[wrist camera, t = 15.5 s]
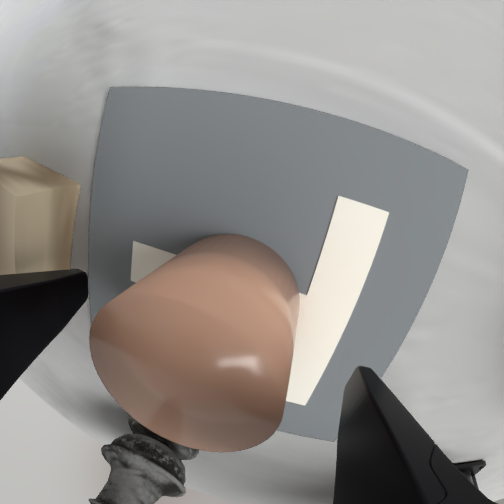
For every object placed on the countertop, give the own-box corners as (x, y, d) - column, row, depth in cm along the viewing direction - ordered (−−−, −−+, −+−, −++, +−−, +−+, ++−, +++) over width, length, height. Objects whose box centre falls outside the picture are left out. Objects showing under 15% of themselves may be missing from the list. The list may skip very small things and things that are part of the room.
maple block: (83, 183, 11) (16, 196, 7) (71, 288, 13) (20, 318, 9) (25, 155, 12) (-28, 162, 8) (17, 244, 14) (-27, 263, 10)
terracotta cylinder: (319, 258, 9) (321, 347, 5) (277, 368, 11) (252, 468, 6) (181, 217, 10) (84, 260, 5) (166, 328, 12) (99, 403, 7)
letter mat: (463, 169, 8) (468, 169, 7) (334, 436, 12) (334, 442, 12) (115, 88, 9) (109, 87, 9) (99, 353, 14) (95, 357, 14)
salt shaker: (111, 411, 16) (24, 522, 5) (164, 405, 14) (63, 561, 3) (161, 460, 17) (99, 567, 6) (219, 459, 15) (159, 599, 4)
